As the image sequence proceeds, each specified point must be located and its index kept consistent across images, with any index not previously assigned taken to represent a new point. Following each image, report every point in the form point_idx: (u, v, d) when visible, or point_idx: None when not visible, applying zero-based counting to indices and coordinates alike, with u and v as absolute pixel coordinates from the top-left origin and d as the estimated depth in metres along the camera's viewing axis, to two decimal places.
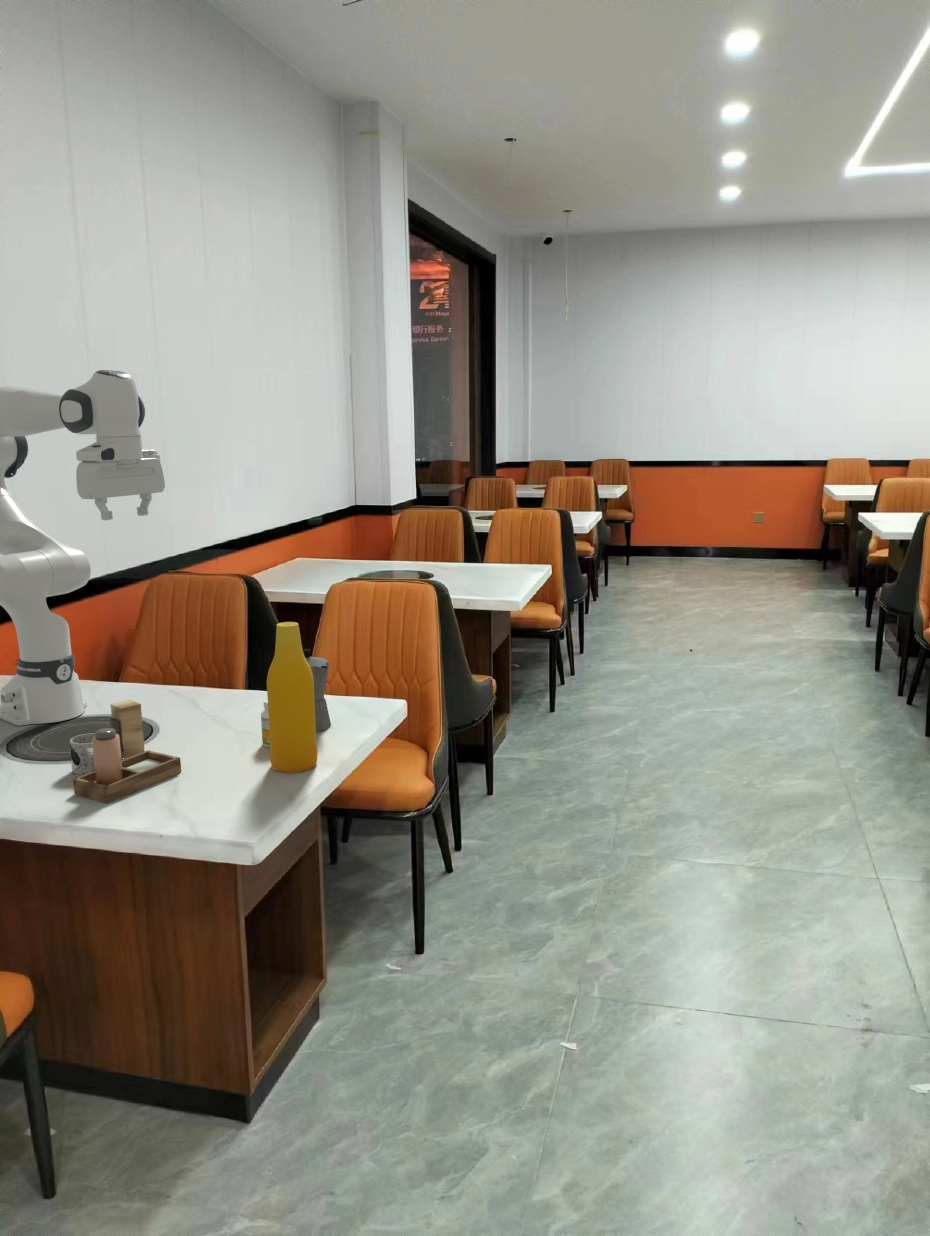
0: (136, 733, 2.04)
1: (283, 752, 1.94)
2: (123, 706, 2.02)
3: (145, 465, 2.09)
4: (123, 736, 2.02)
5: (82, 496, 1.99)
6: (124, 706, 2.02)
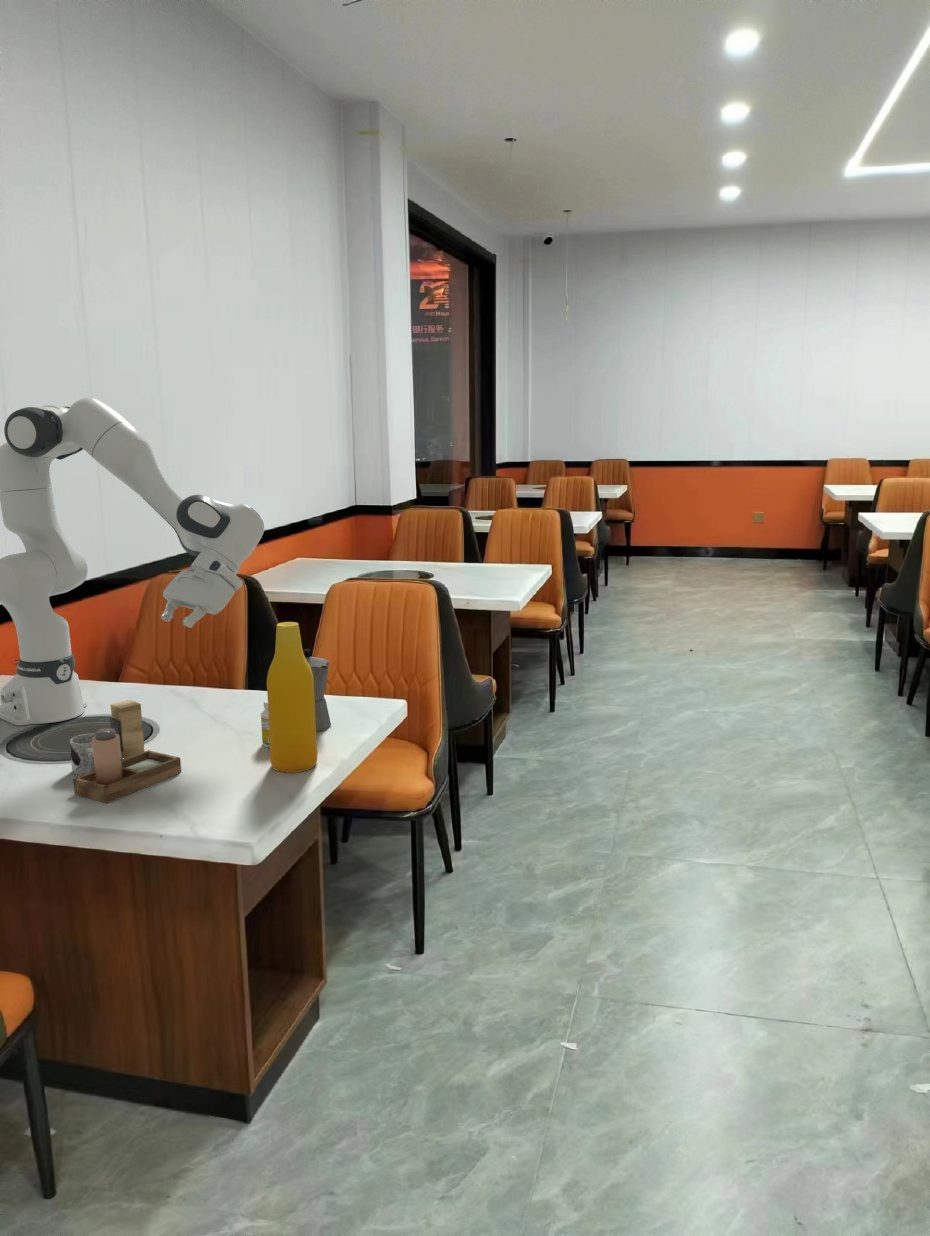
0: (136, 733, 2.04)
1: (283, 752, 1.94)
2: (123, 706, 2.02)
3: None
4: (123, 736, 2.02)
5: (211, 607, 2.03)
6: (124, 706, 2.02)
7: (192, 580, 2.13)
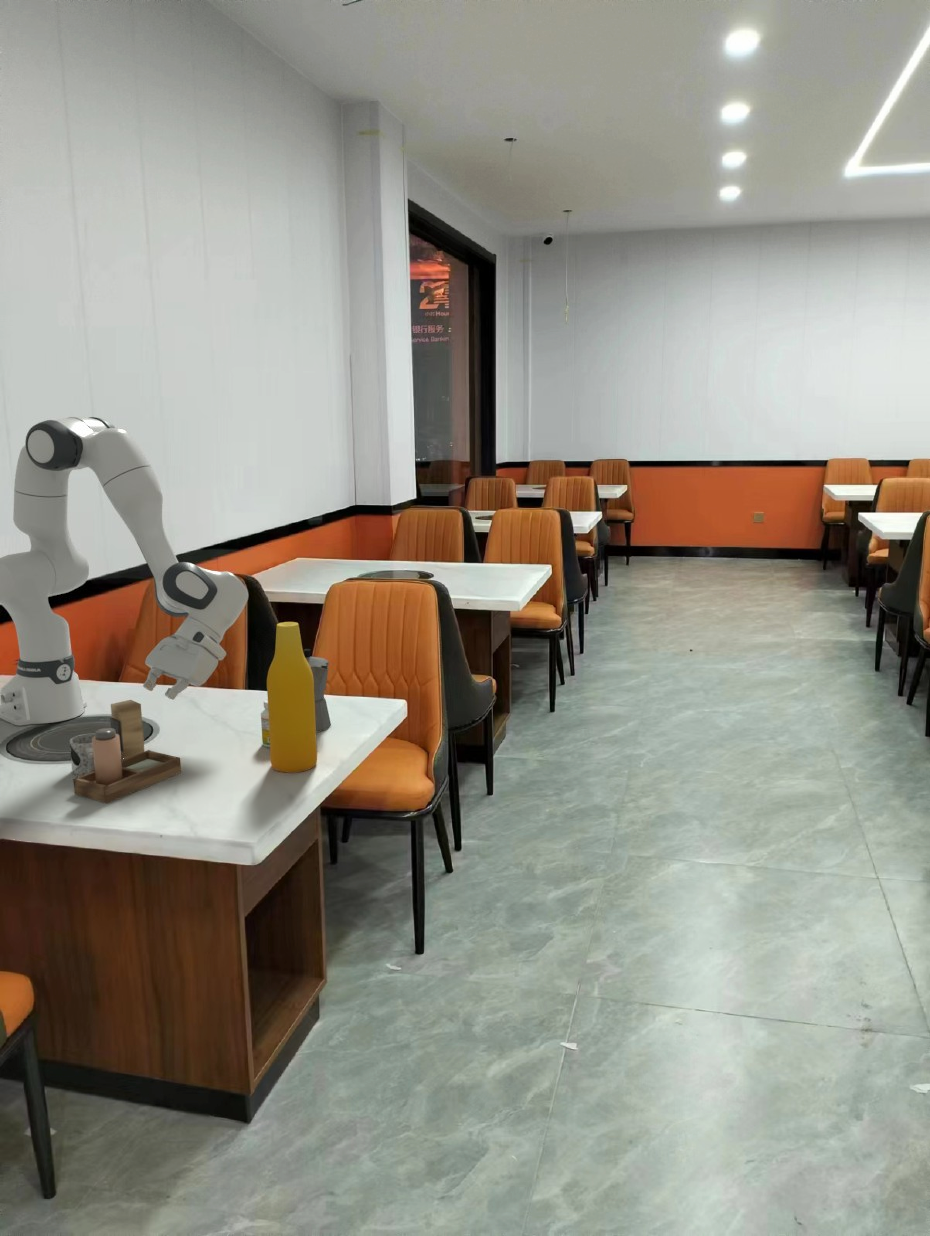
0: (136, 733, 2.04)
1: (283, 752, 1.94)
2: (123, 706, 2.02)
3: None
4: (123, 736, 2.02)
5: (194, 680, 2.03)
6: (124, 706, 2.02)
7: (175, 649, 2.12)
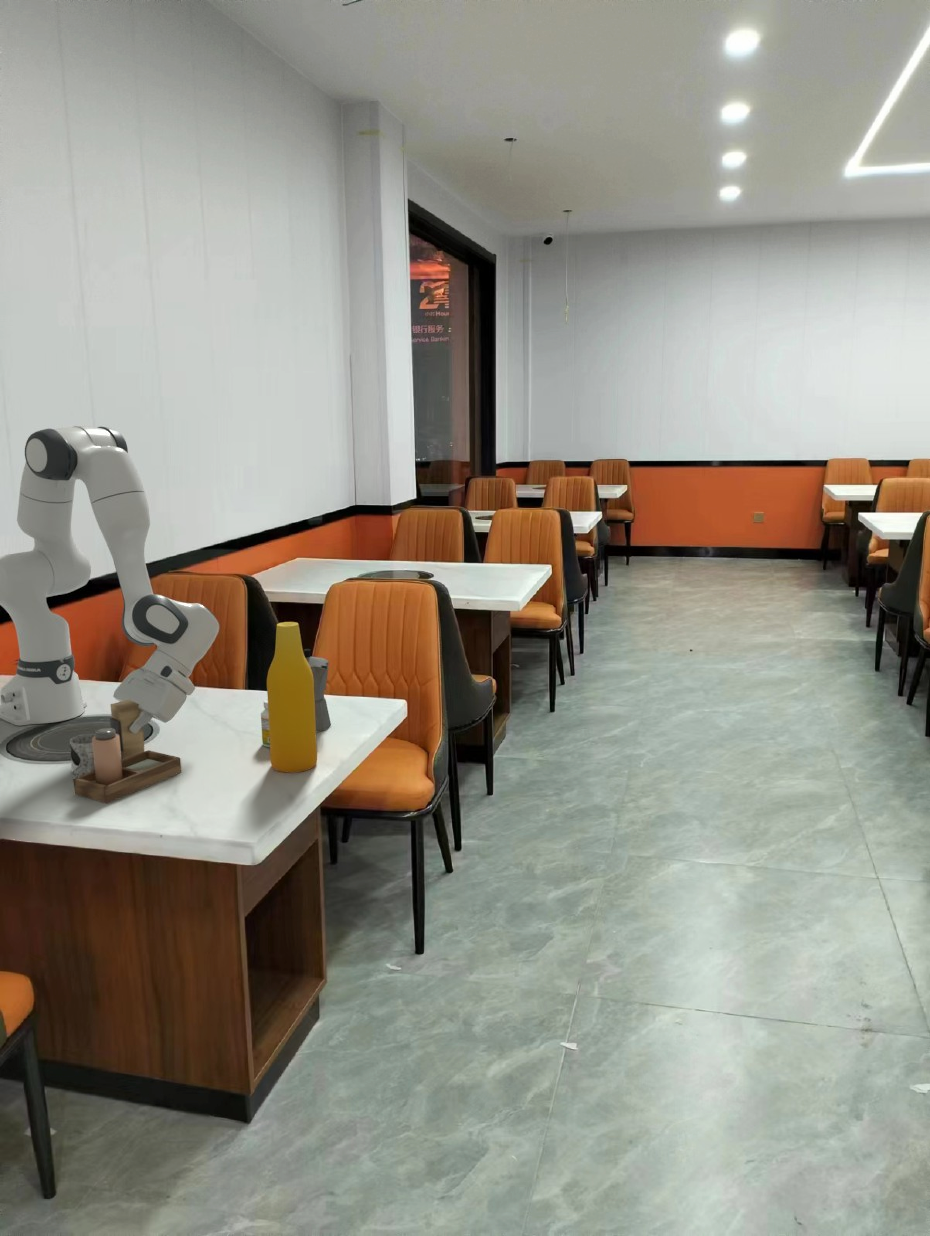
0: (136, 733, 2.04)
1: (283, 752, 1.94)
2: (123, 706, 2.02)
3: None
4: (123, 736, 2.02)
5: (161, 716, 1.99)
6: (124, 706, 2.02)
7: (143, 683, 2.08)
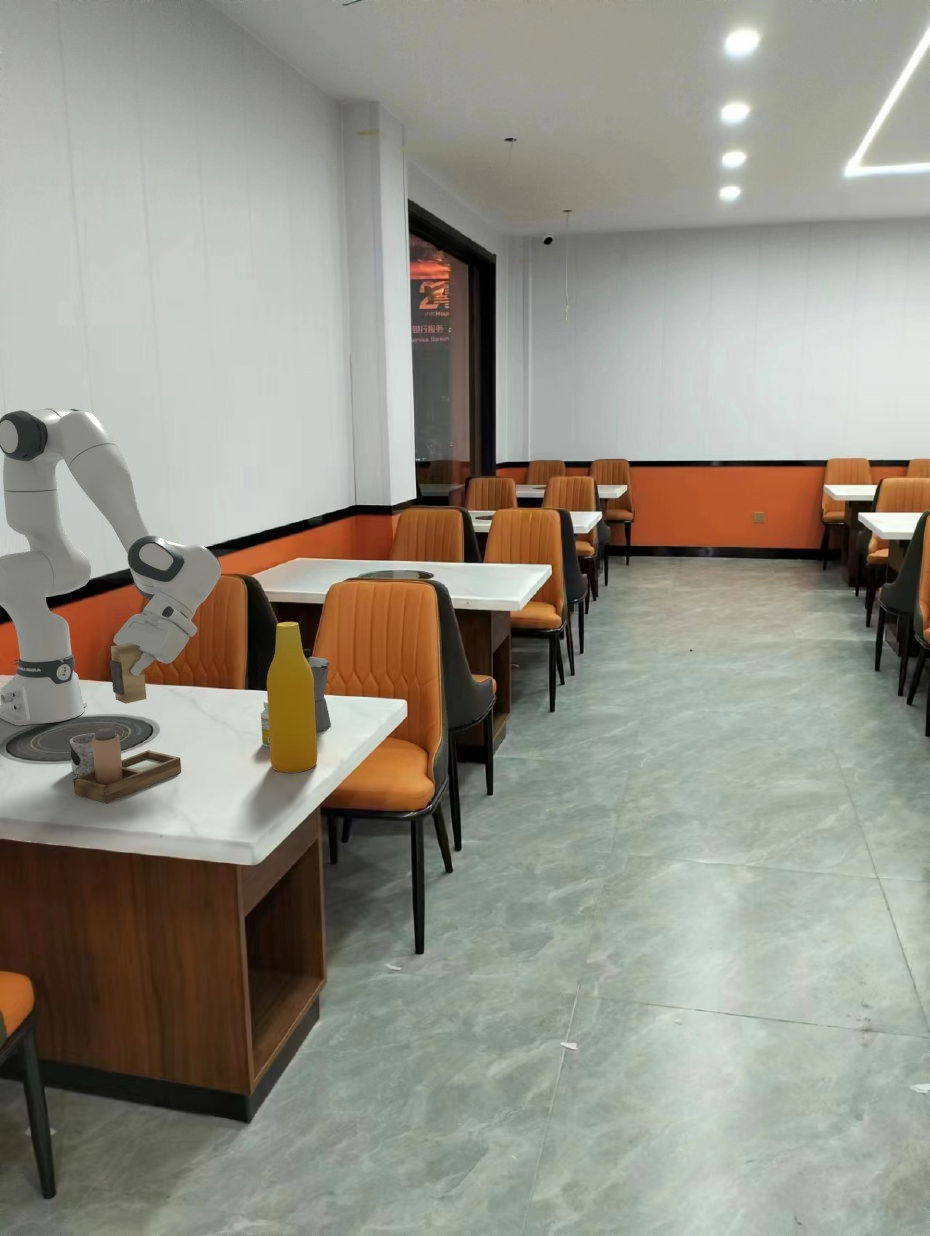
0: (137, 676, 1.98)
1: (283, 752, 1.94)
2: (124, 648, 1.96)
3: None
4: (123, 679, 1.96)
5: (163, 656, 1.93)
6: (125, 648, 1.96)
7: (144, 626, 2.02)
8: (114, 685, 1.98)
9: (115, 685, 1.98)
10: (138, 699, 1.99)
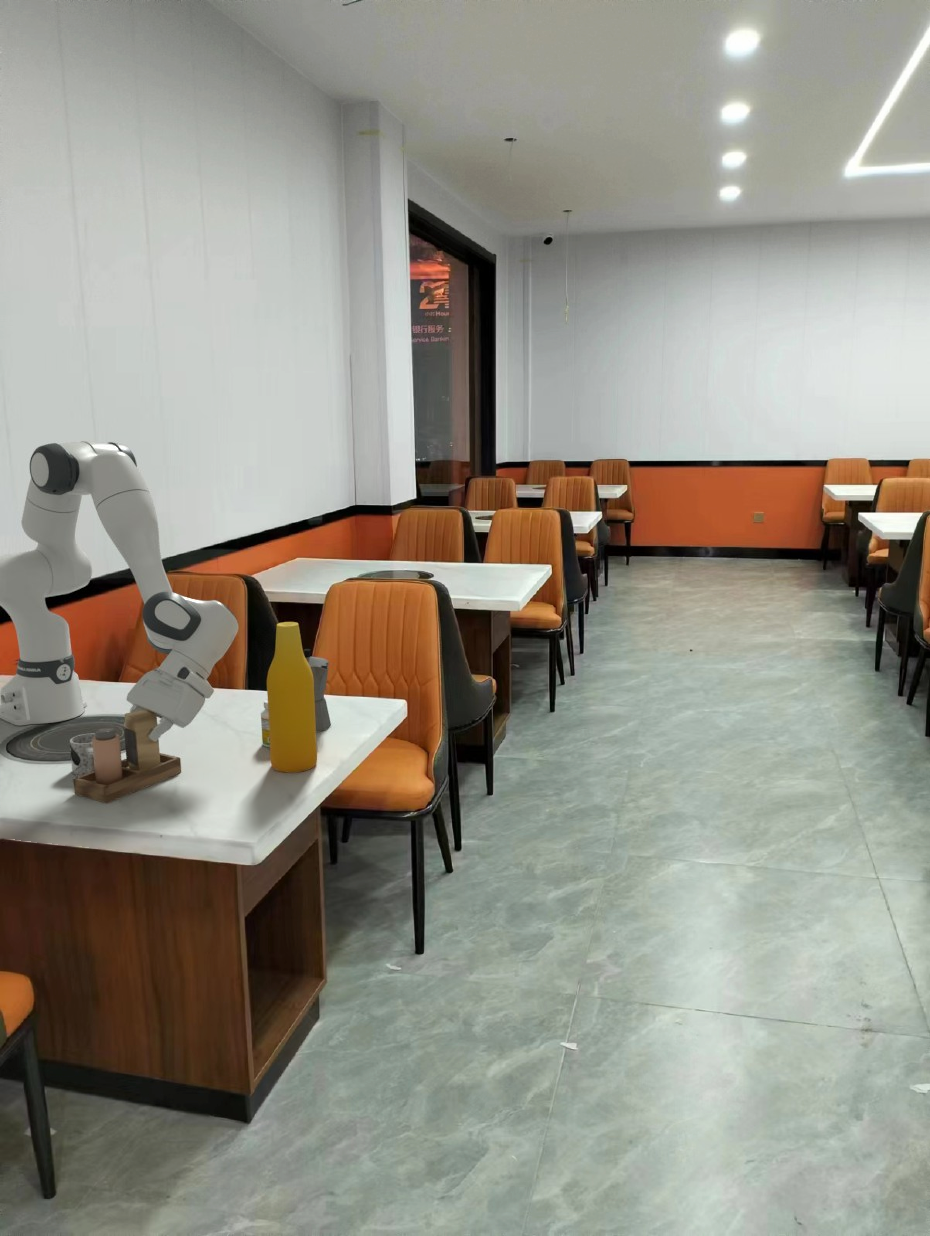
0: (152, 745, 1.92)
1: (283, 752, 1.94)
2: (138, 716, 1.90)
3: None
4: (137, 748, 1.90)
5: (178, 721, 1.86)
6: (139, 716, 1.90)
7: (159, 685, 1.95)
8: (127, 754, 1.92)
9: (128, 754, 1.91)
10: None
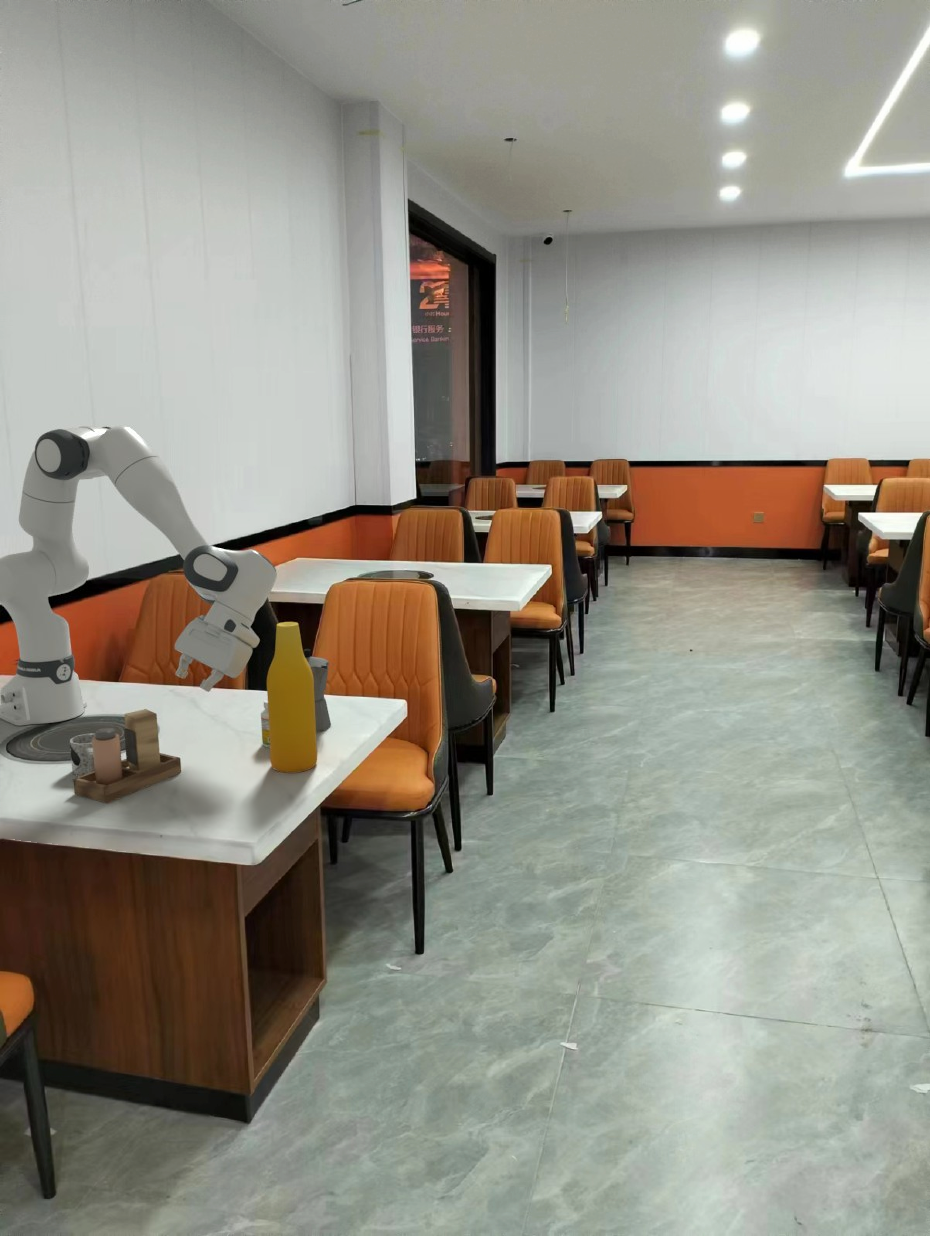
0: (152, 745, 1.92)
1: (283, 752, 1.94)
2: (138, 716, 1.90)
3: None
4: (137, 748, 1.90)
5: (229, 673, 1.96)
6: (139, 716, 1.90)
7: (205, 635, 2.04)
8: (127, 754, 1.92)
9: (128, 754, 1.91)
10: None
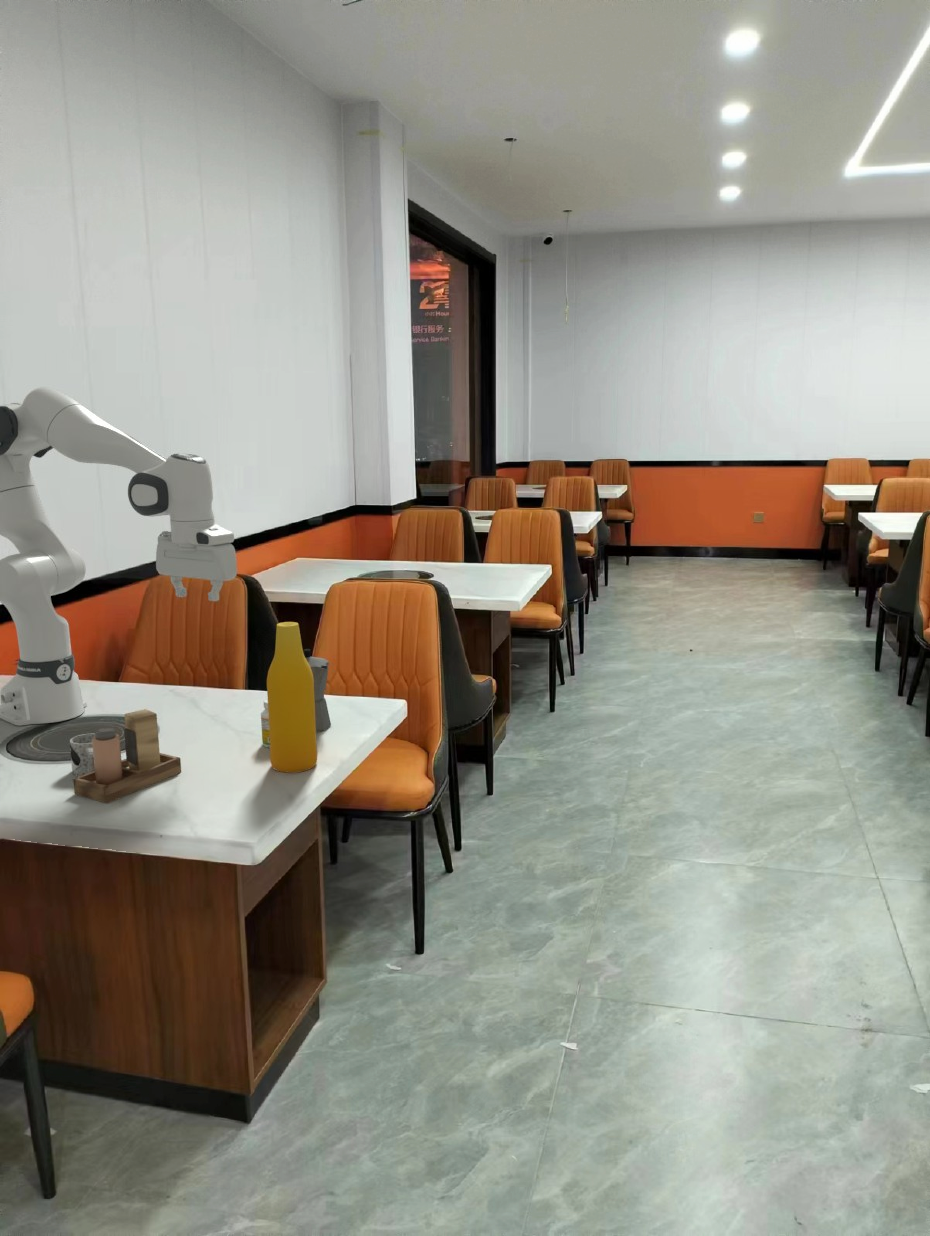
0: (152, 745, 1.92)
1: (283, 752, 1.94)
2: (138, 716, 1.90)
3: None
4: (137, 748, 1.90)
5: (229, 578, 2.02)
6: (139, 716, 1.90)
7: (181, 552, 2.06)
8: (127, 754, 1.92)
9: (128, 754, 1.91)
10: None
